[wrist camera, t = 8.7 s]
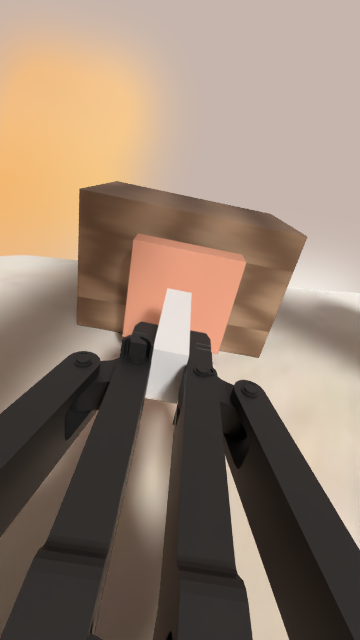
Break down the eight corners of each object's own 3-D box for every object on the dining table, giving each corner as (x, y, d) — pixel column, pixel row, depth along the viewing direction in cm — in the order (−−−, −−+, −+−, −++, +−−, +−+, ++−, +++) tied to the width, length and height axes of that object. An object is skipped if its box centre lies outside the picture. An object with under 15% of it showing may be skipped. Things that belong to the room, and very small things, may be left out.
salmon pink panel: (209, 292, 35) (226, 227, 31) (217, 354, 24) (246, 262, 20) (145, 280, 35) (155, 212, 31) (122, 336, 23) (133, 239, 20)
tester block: (240, 305, 39) (270, 214, 33) (258, 357, 28) (307, 236, 23) (109, 280, 38) (116, 181, 32) (76, 324, 27) (79, 188, 21)
